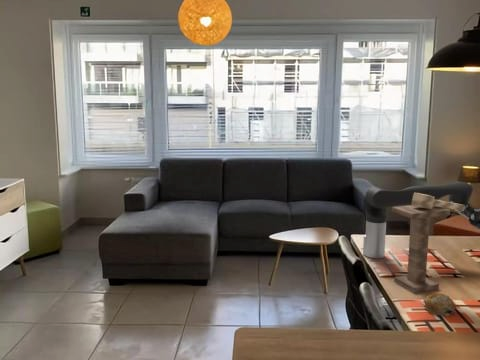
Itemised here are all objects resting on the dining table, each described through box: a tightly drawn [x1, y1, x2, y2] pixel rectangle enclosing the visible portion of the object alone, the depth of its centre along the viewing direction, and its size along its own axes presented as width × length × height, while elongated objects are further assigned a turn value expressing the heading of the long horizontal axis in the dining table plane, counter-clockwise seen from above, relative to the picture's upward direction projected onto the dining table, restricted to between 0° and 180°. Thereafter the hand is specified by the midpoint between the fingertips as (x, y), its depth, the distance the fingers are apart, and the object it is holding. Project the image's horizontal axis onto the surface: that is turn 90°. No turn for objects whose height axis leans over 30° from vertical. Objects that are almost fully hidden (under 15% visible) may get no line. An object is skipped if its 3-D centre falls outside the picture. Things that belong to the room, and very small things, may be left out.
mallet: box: [411, 192, 465, 211], centre depth 189 cm, size 24×5×5 cm, turn 111°
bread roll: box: [422, 292, 456, 317], centre depth 169 cm, size 10×10×8 cm
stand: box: [391, 205, 451, 294], centre depth 189 cm, size 18×12×32 cm, turn 109°
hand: (458, 205), depth 192 cm, fingers open, 8 cm apart
